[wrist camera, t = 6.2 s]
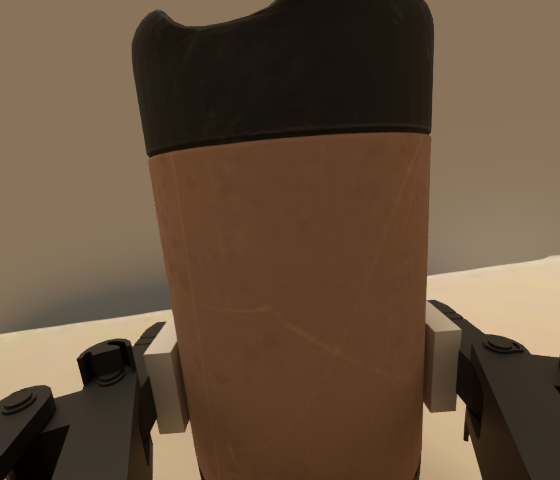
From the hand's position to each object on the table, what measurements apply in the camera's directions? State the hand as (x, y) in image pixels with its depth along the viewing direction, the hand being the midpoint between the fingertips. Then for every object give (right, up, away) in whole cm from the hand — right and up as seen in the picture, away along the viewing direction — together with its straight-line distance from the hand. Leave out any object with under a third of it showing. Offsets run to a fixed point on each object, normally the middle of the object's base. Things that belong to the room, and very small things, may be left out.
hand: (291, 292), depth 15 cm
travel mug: (+1, -12, -2) cm, 12 cm away
